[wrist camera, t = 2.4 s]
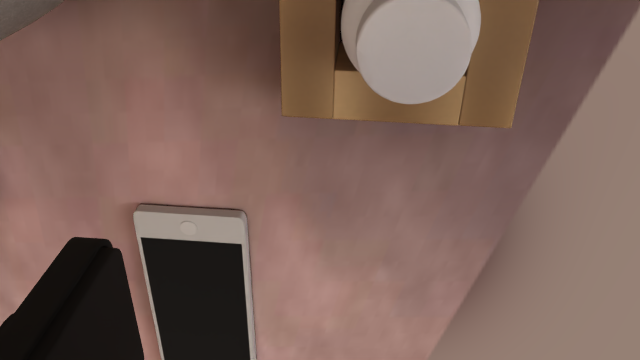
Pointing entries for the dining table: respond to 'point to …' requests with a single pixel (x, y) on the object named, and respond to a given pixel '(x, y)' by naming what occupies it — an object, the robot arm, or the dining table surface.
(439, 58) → the pill bottle
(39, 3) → the planter
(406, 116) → the frame
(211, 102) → the dining table surface
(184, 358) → the smartphone
